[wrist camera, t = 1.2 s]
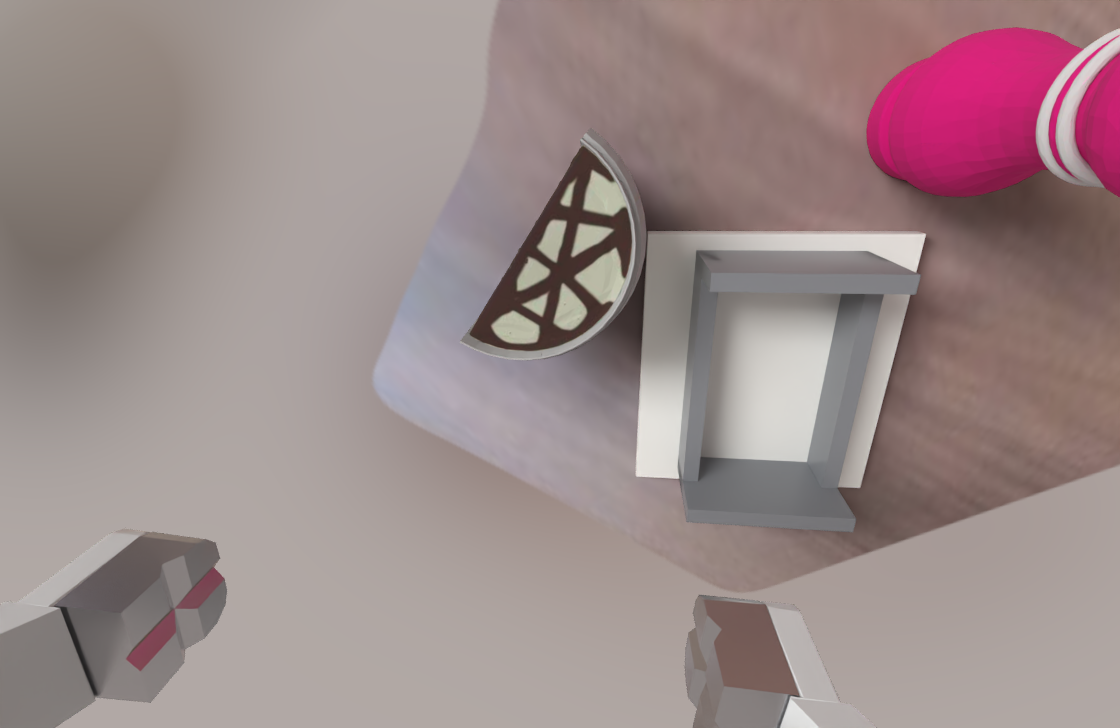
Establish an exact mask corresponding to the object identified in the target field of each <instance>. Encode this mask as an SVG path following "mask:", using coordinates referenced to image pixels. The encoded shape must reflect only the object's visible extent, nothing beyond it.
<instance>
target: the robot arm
mask: <svg viewBox="0 0 1120 728" xmlns="http://www.w3.org/2000/svg"><path fill="white" fill-rule="evenodd" d="M219 559H220V556H219V553H218V549H217V546H216V543H215V542H212V541H209V540H206V539H200V538H193V537H185V536H178V535H171V534H164V533H157V532H145V531H138V530H131V529H122V530H118V531H115V532H112V533H110V534H109V535H107V536H106V537H105V538H103V539H102V540H100V541H99V542H98V543H96V544H95V545H94V546H92V547H91V548H90V549H88V550H87V551H86V552H84V553H83V554H82V555H80V556H79V557H78V558H77V559H75V560H74V561H72V562H71V563H70V564H68V565H67V566H66V567H64V568H63V569H62V570H60V571H59V572H57V573H56V574H55V575H53V576H52V577H51V578H50V579H48V580H47V581H45V582H44V583H43V584H41V585H40V586H39V587H37V588H36V589H35V590H33V591H32V592H31V593H29V594H28V595H26V596H25V597H24V598H22V599H21V600H20V601H18V602H5V603H2V604H0V728H55V727H56V726H58V725H60V724H61V723H63V722H64V721H65V720H67V719H69V718H70V717H72V716H73V715H75V714H76V713H78V712H79V711H81V710H82V709H84V708H85V707H87V706H88V705H90V704H91V703H93V702H94V701H95V697H97V698H107V699H117V700H129V701H138V702H149V703H151V701H152V700H153V699H154V698H155V697H156V696H157V694H158V693H159V692H160V691H161V690H162V688H163V687H164V686H165V685H166V684H167V683H168V681H169V680H170V679H171V678H172V677H173V675H174V674H175V673H176V672H177V671H178V670H179V668H180V667H181V666H182V665H183V664H184V658H185V649H187V648H188V647H190V646H192V645H194V644H196V643H197V642H199V641H201V640H202V639H204V638H205V637H206V636H207V635H208V634H209V632H210V631H211V630H212V629H213V627H214V626H215V625H216V624H217V622H218V620H219V618H220V615H221V613H222V611H223V609H224V606H225V603H226V595H227V588H226V583H225V579H224V578H223V577H222V576H221V574H220V573H219V572H218V571H217V570H216V569H215V568H214V566H215V565H216V563H217V562H218V561H219ZM693 616H694V621H695V626H696V627H695V628H694V629H693V630H692V631H690V632H689V633H688V638H687V643H686V651H685V677H686V686H687V693H688V698H689V699H690V700H691V702H692V703H693V704H694V705H695V707H696V708H697V711H696V715H695V719H694V723H693V728H877V727H876V726H875V725H873V724H872V723H871V722H870V721H869V720H868V719H867V718H866V717H865V716H864V715H863V714H862V713H861V712H859V711H858V710H857V709H856V708H855V707H854V706H853V705H852V704H848V703H841V702H840V699H839V697H838V695H837V693H836V691H835V688H834V686H833V684H832V682H831V679H830V677H829V675H828V673H827V670H826V668H825V666H824V664H823V662H822V659H821V657H820V655H819V653H818V650H817V648H816V646H815V644H814V641H813V639H812V637H811V635H810V633H809V631H808V628H807V626H806V624H805V622H804V619H803V617H802V615H801V613H800V610H799V609H798V608H797V607H796V606H795V605H793V604H786V603H776V602H766V601H762V602H760V601H754V600H745V599H734V598H726V597H716V596H706V595H699V596H698V597H697V599H696V601H695V607H694V610H693Z"/></svg>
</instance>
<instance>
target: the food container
mask: <svg viewBox="0 0 1120 728" xmlns="http://www.w3.org/2000/svg"><path fill="white" fill-rule="evenodd" d="M580 142H581V148H580V150H579V151H578V153H577V155H576V156H575V157H574V159H573V160H572V162H571V165H570V167H569V169H568V170H567V172H566V174H565V175H564V177H563V179H562V180H561V181H560V183H559V185H558V187H557V189H556V190H555V192H554V194H553V195H552V197H551V198H550V200H549V202H548V203H547V205H546V207H545V209H544V210H543V212H542V214H541V215H540V217H539V219H538V220H537V221H536V223H535V225H534V227H533V229H532V230H531V232H530V233H529V235H528V237H527V238H526V240H525V242H524V243H523V245H522V247H521V248H519V251H518V253H517V255H516V257H515V258H514V260H513V262H512V263H511V265H510V267H509V268H508V270H507V272H506V273H505V275H504V277H503V278H502V280H501V281H500V283H499V285H498V286H497V288H496V289H495V291H494V293H493V294H492V296H491V298H490V299H489V301H488V303H487V304H486V306H485V308H484V309H483V311H482V313H481V314H480V316H479V318H478V319H477V320H476V321H475V323H474V324H473V325H472V327H471V328H470V329H469V330H468V332H467V333H466V334H465V336H464V337H463V338H462V340H461V341H460V343H462V344H464V345H466V346H468V347H470V348H472V349H473V350H476V351H479V352H481V353H484V354H487V355H490V356H494V357H499V358H504V359H512V360H536V359H546V358H550V357H554V356H558V355H562V354H564V353H567V352H569V351H572V350H574V349H577V348H579V347H580V346H582V345H584V344H585V343H587V342H589V341H590V340H592V339H593V338H595V337H596V336H597V335H598V334H599V333H601V332H602V331H603V330H604V329H605V328H606V327H607V326H608V325H609V324H610V323H611V322H612V321H613V320H614V319H615V318H616V317H617V315H618V314H619V313H620V312H621V311H622V310H623V308H624V307H625V305H626V304H627V302H628V300H629V299H630V297H631V295H632V294H633V292H634V290H635V287H636V285H637V282H638V280H639V277H640V275H641V271H642V267H643V262H644V258H645V250H646V237H647V235H646V223H645V214H644V210H643V206H642V201H641V197H640V194H639V192H638V189H637V187H636V184H635V182H634V180H633V177H632V175H631V174H630V172H629V170H628V169H627V167H626V165H625V164H624V162H623V161H622V159H621V157H620V156H619V155H618V154H617V153H616V151H615V150H614V149H613V148H612V147H611V146H610V145H609V143H608V142H607V141H606V140H605V139H604V138H602V137H601V136H600V135H599V134H598V133H596V132H595V131H594V130H593V129H592V128H591V129H590V130H588V131H587V132H586V134H585V135H584V137H583V138H581V140H580Z"/></svg>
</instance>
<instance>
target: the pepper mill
mask: <svg viewBox="0 0 1120 728" xmlns="http://www.w3.org/2000/svg"><path fill="white" fill-rule="evenodd" d="M867 144H868V148H869V152H870V155H871V157H872V159H873V160H874V162H875V163H876V165H877V166H879V167H880V168H881V169H882V170H883V171H884V172H885V173H887V174H888V175H890V176H892V177H895V178H898V179H901V180H907V181H908V182H909V183H910V184H912V185H913V186H915V187H916V188H918V189H920V190H922V191H924V192H927V193H931V194H934V195H940V196H953V197H968V196H977V195H981V194H985V193H989V192H993V191H997V190H1000V189H1003V188H1006V187H1009V186H1011V185H1014V184H1016V183H1019V182H1021V181H1022V180H1024V179H1026V178H1028V177H1030V176H1032V175H1034V174H1035V173H1037V172H1039V171H1041V170H1050V171H1051V172H1052V173H1053V174H1054V175H1056V176H1057V177H1058V178H1060V179H1062V180H1064V181H1066V182H1068V183H1072V184H1075V185H1079V186H1089V187H1100V188H1106V189H1107V190H1109V191H1110V192H1112V193H1113V194H1115V195H1117V196H1118V197H1120V28H1119V29H1117V30H1115V31H1112V32H1110V33H1108V34H1106V35H1105V36H1103V37H1101V38H1099V39H1098V40H1096V41H1095V42H1093V43H1092V44H1090V45H1089V46H1087V47H1086V48H1085V49H1081V48H1079V47H1077V46H1074V45H1072V44H1070V43H1069V42H1067V41H1065V40H1063V39H1062V38H1060V37H1058V36H1056V35H1054V34H1051V33H1048V32H1043V31H1038V30H1033V29H1025V28H1017V27H1016V28H1004V29H995V30H988V31H984V32H979V33H974V34H971V35H969V36H966V37H964V38H961V39H959V40H957V41H955V42H953V43H951V44H949V45H948V46H946V47H944V48H942V49H941V50H939V51H938V52H937V53H935V54H934V55H932V56H931V57H930V58H927V59H924V60H921V61H919V62H916V63H914V64H912V65H911V66H909V67H907V68H906V69H904V70H903V71H902V72H900V73H899V74H898V75H896V76H895V77H894V78H893V79H892V80H891V81H890V82H889V83H888V84H887V85H886V86H885V88H884V89H883V90H882V92H881V93H880V94H879V96H878V97H877V99H876V101H875V103H874V105H873V108H872V110H871V112H870V116H869V119H868V124H867Z"/></svg>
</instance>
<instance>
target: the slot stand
mask: <svg viewBox="0 0 1120 728" xmlns="http://www.w3.org/2000/svg"><path fill="white" fill-rule="evenodd" d="M925 237H926V234H925V233H922V232H918V231H647V249H646V269H645V289H644V309H643V330H642V350H641V370H640V391H639V411H638V431H637V452H636V476H637V477H656V478H675V479H679V480H680V486H681V492H682V498H683V504H684V510H685V516H686V522H693V523H710V524H726V525H742V526H759V527H775V528H791V529H808V530H824V531H841V532H853V530H854V526H855V522H856V518H855V516H854V515H853V513H852V511H851V510H850V508H849V507H848V505H847V503H846V502H845V500H844V498H843V497H842V495H841V494H840V492H839V490H838V487H847V488H860V486H861V483H862V479H863V475H864V471H865V467H866V463H867V459H868V456H869V452H870V448H871V444H872V440H873V436H874V433H875V429H876V425H877V421H878V417H879V413H880V410H881V406H882V402H883V398H884V394H885V390H886V386H887V383H888V379H889V375H890V371H891V367H892V363H893V360H894V356H895V352H896V348H897V344H898V340H899V337H900V333H901V329H902V325H903V321H904V317H905V313H906V310H907V306H908V302H909V298H910V295H916V292H917V288H918V284H919V280H920V277H921V275H920V274H918V273H916V271H917V267H918V264H919V260H920V256H921V252H922V248H923V244H924V240H925Z"/></svg>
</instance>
